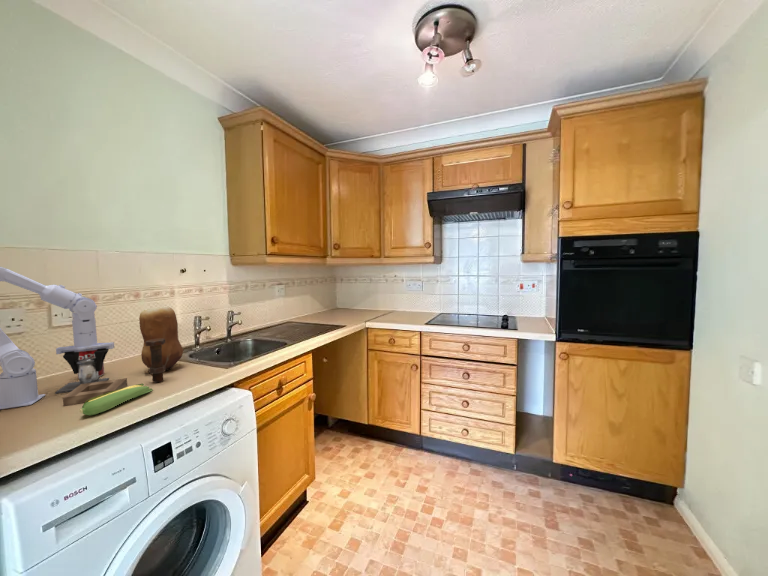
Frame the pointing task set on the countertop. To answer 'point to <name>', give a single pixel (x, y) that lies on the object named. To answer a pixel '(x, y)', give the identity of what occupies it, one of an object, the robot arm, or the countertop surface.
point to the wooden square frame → (93, 391)
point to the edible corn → (113, 399)
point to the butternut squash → (161, 335)
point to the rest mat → (74, 386)
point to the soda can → (89, 355)
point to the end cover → (87, 370)
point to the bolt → (156, 359)
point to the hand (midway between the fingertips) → (88, 371)
